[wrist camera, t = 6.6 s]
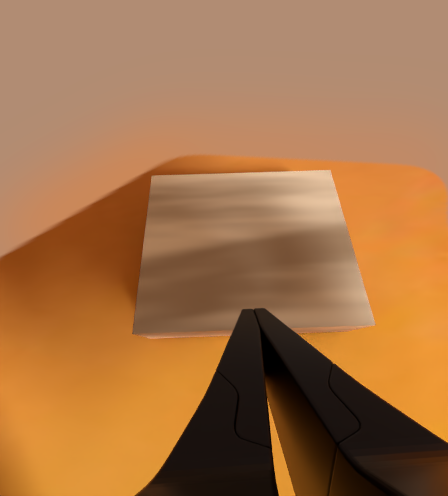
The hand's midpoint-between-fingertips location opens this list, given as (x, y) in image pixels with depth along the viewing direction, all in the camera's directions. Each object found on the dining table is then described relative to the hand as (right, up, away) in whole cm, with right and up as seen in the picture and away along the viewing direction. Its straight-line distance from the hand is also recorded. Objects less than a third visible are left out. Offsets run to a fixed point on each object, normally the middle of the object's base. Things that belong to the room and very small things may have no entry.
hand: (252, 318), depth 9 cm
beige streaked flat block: (0, -2, +4) cm, 5 cm away
